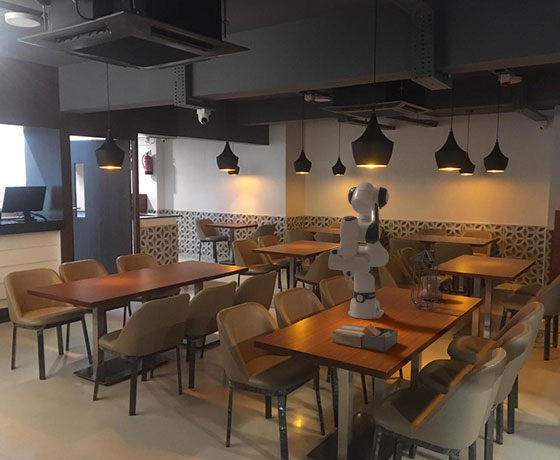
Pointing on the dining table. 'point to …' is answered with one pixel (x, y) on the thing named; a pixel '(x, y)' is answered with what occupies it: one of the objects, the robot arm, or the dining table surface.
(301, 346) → the dining table surface
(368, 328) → the terracotta tile
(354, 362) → the dining table surface
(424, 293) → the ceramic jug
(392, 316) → the dining table surface
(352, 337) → the board
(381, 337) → the blue-grey tile
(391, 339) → the tray
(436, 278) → the geometric lantern
